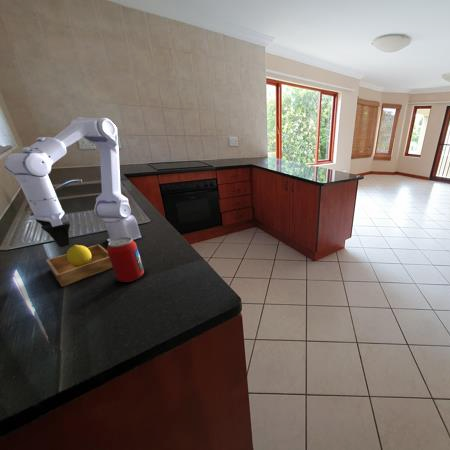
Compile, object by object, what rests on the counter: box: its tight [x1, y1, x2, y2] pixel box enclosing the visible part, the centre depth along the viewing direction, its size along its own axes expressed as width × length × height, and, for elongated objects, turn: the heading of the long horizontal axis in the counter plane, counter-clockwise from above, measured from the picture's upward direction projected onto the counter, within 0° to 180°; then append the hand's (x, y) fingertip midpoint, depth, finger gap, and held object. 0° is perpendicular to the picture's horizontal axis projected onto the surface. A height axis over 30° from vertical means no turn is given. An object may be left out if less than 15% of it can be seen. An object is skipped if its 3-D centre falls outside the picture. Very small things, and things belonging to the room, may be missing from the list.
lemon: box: [66, 244, 92, 267], centre depth 73 cm, size 6×6×8 cm
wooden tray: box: [45, 243, 113, 287], centre depth 74 cm, size 13×13×4 cm
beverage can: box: [106, 237, 145, 283], centre depth 68 cm, size 7×7×12 cm
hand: (61, 242), depth 70 cm, fingers open, 7 cm apart
